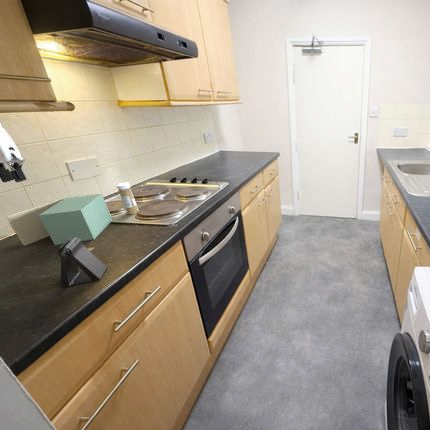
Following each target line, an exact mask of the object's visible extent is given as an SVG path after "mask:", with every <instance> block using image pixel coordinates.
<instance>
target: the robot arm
mask: <svg viewBox="0 0 430 430" xmlns="http://www.w3.org/2000/svg"><path fill="white" fill-rule="evenodd" d="M25 162H26V160H25V159H24V158H23V156H22V155H21V153H20V151H19V149H18V147H17V145H16V143H15V142H14V140H13V138H11V136H10V134H9V133H8V132H7V130H5V128H4V126H3V124H2V122H1V121H0V180H1V182H2V183H8V182H11V181H14V182H15V183H21V182H24V181H27V179H28V178H27V176H26V174H25V173H24V171H23V165H24V163H25ZM7 167H8V168H7Z"/></svg>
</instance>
